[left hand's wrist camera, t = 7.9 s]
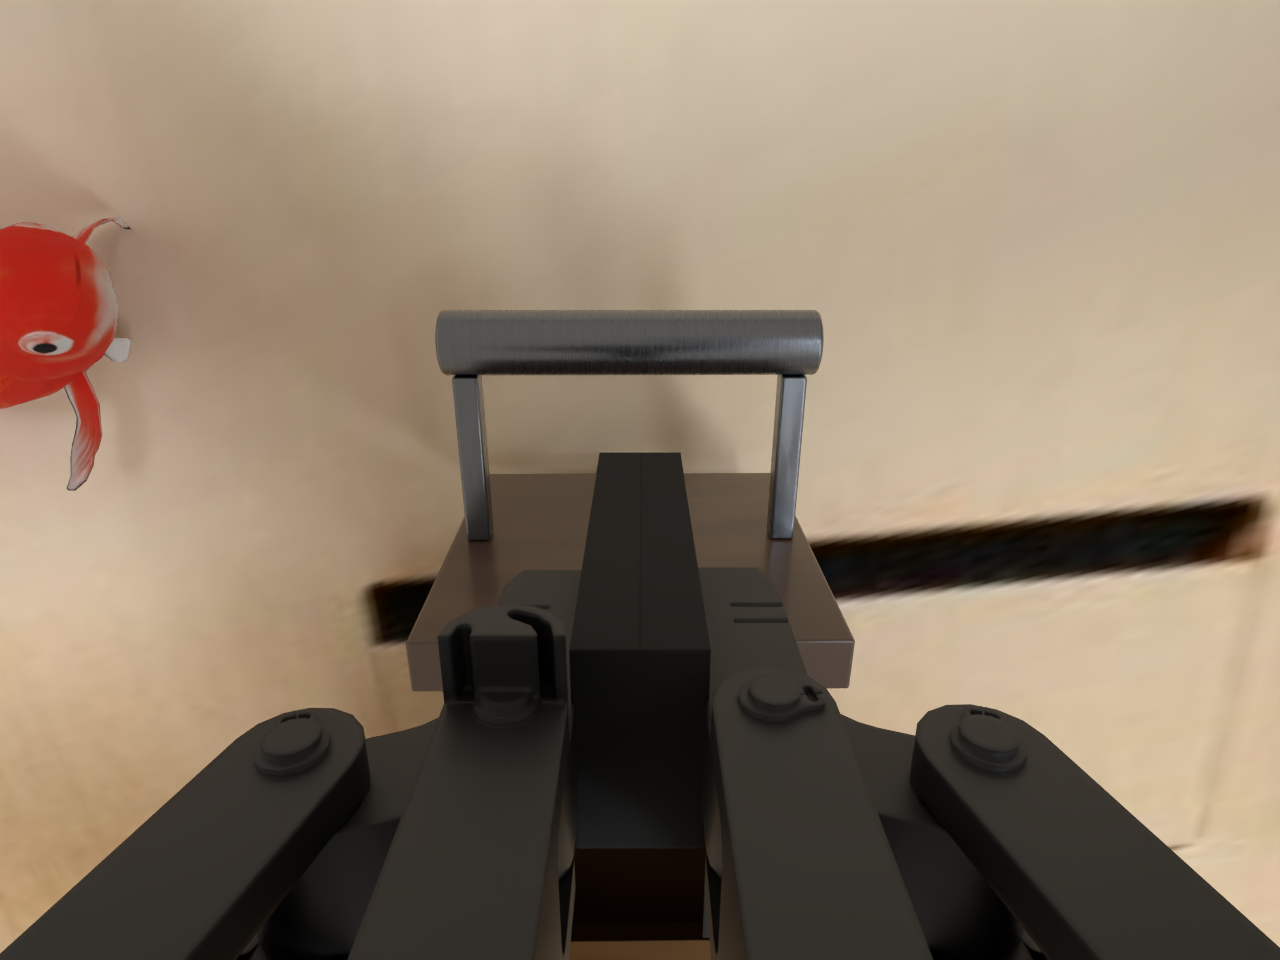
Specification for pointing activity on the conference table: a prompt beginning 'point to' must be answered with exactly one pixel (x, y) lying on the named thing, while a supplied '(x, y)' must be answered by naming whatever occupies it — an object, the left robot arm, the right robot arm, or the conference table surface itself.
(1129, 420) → the conference table surface
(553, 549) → the drawer
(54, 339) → the fish
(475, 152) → the conference table surface
